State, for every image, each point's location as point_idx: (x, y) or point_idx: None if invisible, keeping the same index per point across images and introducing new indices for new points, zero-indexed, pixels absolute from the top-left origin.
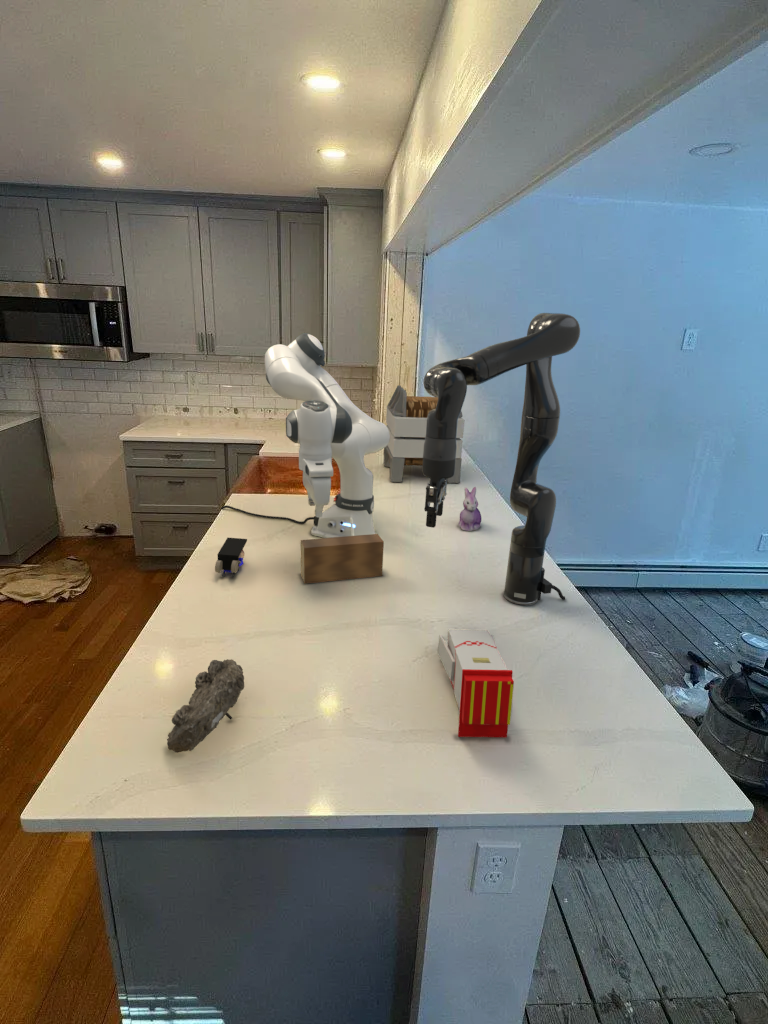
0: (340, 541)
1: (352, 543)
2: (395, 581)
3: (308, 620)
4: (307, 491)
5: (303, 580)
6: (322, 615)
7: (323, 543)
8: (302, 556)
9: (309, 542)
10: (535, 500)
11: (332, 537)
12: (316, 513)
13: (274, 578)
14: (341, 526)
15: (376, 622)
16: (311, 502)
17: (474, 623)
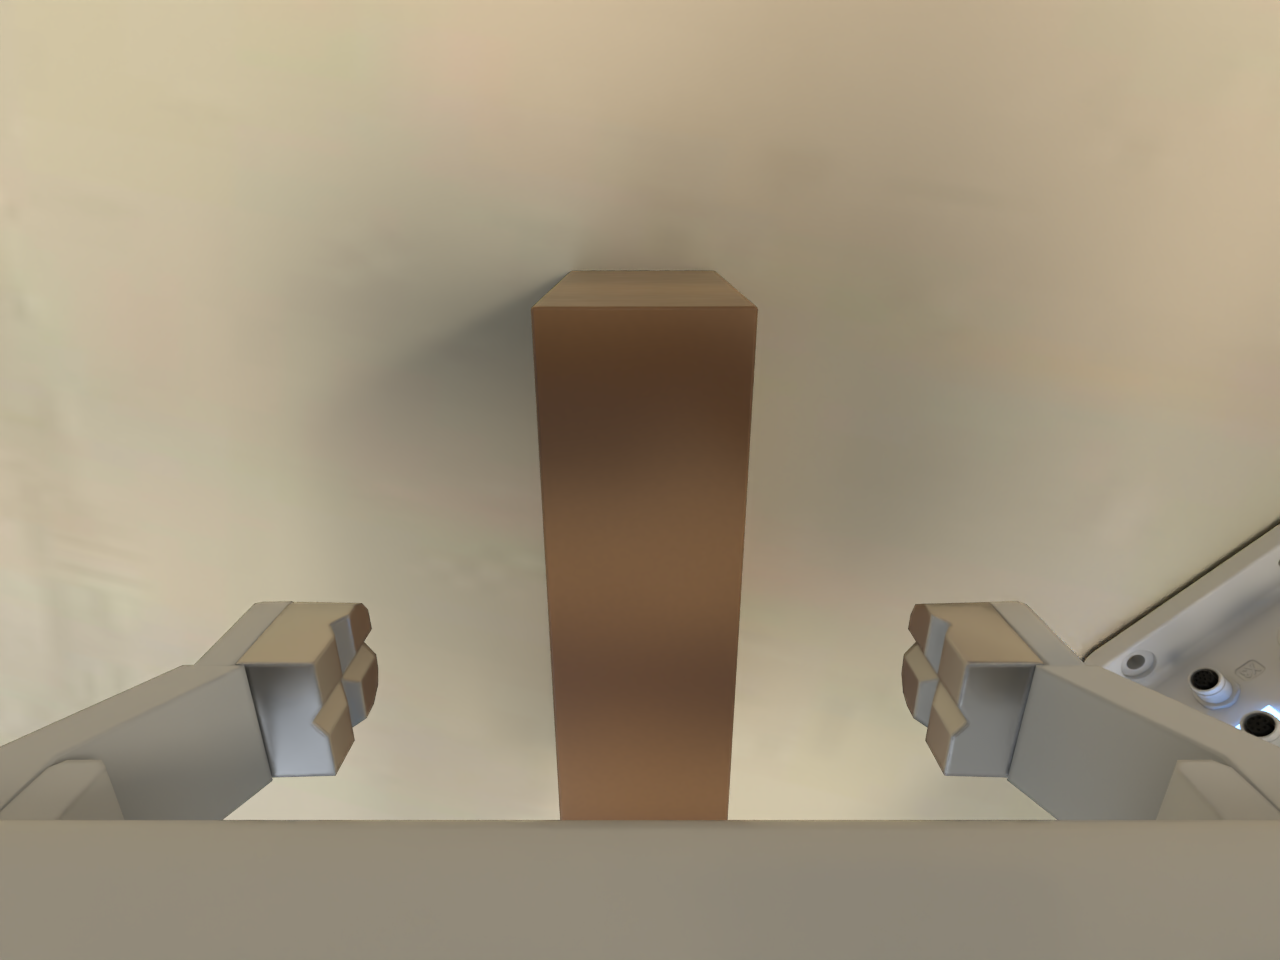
0: (629, 656)
1: (566, 731)
2: (511, 763)
3: (71, 207)
4: (927, 834)
5: (600, 271)
6: (137, 307)
7: (613, 512)
8: (632, 290)
9: (665, 387)
10: None
11: (736, 613)
12: (230, 647)
13: (706, 54)
14: (1249, 701)
15: (71, 570)
16: (939, 669)
17: None
